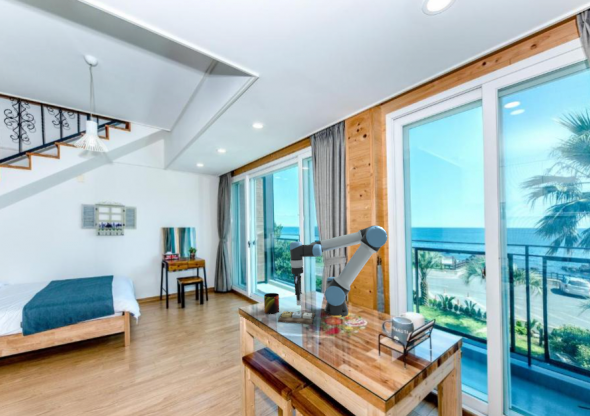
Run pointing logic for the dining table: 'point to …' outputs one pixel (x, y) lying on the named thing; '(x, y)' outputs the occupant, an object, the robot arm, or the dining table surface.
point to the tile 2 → (307, 315)
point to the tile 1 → (286, 314)
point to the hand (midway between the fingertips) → (299, 305)
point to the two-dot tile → (297, 315)
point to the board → (296, 319)
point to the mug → (271, 303)
